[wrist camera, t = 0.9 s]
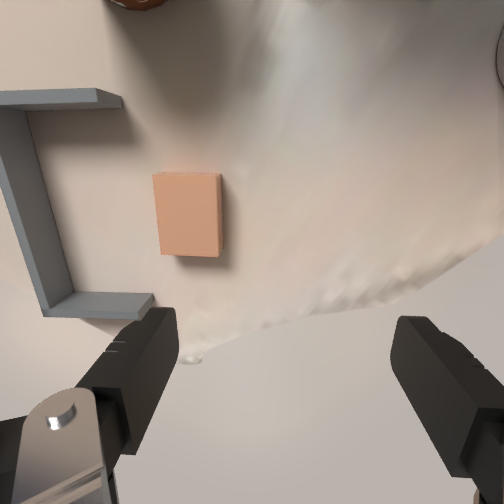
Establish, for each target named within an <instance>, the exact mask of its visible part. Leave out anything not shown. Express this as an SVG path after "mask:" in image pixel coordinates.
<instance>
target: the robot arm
mask: <svg viewBox="0 0 504 504" xmlns="http://www.w3.org/2000/svg"><path fill="white" fill-rule="evenodd" d="M497 70H498V73H499V77H500V80H501V82H502V84H503V85H504V28H503V31H502V34H501V37H500V40H499V44H498V50H497ZM178 353H179V339H178V330H177V321H176V313H175V310H174V308H171V307H151V308H150V309H149V310H148V312H147V313H146V314H145V316H144V317H143V318H142V320H141V321H134V322H132V323H131V324H129V325H128V326H126V327H125V328H123V329H122V330H121V331H120V332H119V334H118V335H117V336H116V337H115V339H114V340H113V343H110V345H109V346H108V347H107V348H106V351H105V352H103V353H102V354H101V356H100V357H99V358H98V359H97V361H96V362H95V363H94V364H93V365H92V367H91V368H90V369H89V370H88V372H87V373H86V374H85V375H84V377H83V378H82V379H81V380H80V381H79V383H78V384H77V385H76V386H75V387H74V388H70V389H66V390H63V391H60V392H58V393H55V394H53V395H51V396H50V397H48V398H46V399H45V400H43V401H42V402H41V403H39V404H38V405H37V406H36V407H35V408H34V409H33V410H32V411H31V412H30V414H29V415H27V416H23V417H18V418H14V419H9V420H4V421H0V504H119V498H118V492H117V485H116V479H115V473H114V467H115V465H116V463H117V461H118V459H119V456H120V455H121V454H126V455H136V452H137V450H138V448H139V446H140V443H141V441H142V439H143V437H144V434H145V432H146V430H147V427H148V425H149V423H150V420H151V418H152V416H153V414H154V411H155V409H156V407H157V405H158V402H159V400H160V398H161V396H162V393H163V391H164V389H165V386H166V384H167V382H168V379H169V377H170V375H171V373H172V370H173V368H174V366H175V364H176V361H177V358H178ZM390 354H391V355H390V360H391V366H392V369H393V372H394V374H395V376H396V377H397V379H398V381H399V383H400V385H401V386H402V388H403V390H404V392H405V393H406V395H407V397H408V399H409V401H410V403H411V404H412V406H413V408H414V410H415V412H416V414H417V415H418V417H419V419H420V421H421V422H422V424H423V426H424V428H425V430H426V432H427V433H428V435H429V437H430V439H431V441H432V442H433V444H434V446H435V448H436V450H437V451H438V453H439V455H440V457H441V459H442V461H443V462H444V464H445V466H446V468H447V470H448V471H449V473H450V475H451V477H460V478H472V479H473V481H474V483H475V485H476V486H477V490H476V492H475V494H474V504H504V386H503V385H502V384H501V383H500V382H499V381H498V380H497V379H496V378H495V377H494V376H493V375H492V374H491V373H490V372H489V371H488V370H487V369H485V368H484V366H483V364H481V362H480V361H479V360H478V359H477V358H474V355H473V354H472V353H471V352H470V351H469V350H468V349H467V348H466V347H465V346H464V345H463V344H462V343H460V342H459V341H457V340H456V339H454V338H453V337H451V336H449V335H448V334H446V333H444V332H441V331H439V329H438V328H437V327H436V326H435V325H434V324H433V323H432V322H431V321H430V320H429V319H428V318H427V317H424V316H400V317H399V319H398V321H397V325H396V330H395V334H394V339H393V344H392V348H391V353H390Z"/></svg>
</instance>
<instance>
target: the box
mask: <svg viewBox="0 0 504 504" xmlns="http://www.w3.org/2000/svg"><path fill="white" fill-rule="evenodd" d="M112 108H123V107H122V101H121V96H118V95H115V94H112V93H109V92H106V91H103V90H100V89H97V88H77V89H47V90H18V91H0V187H1V190H2V193H3V196H4V199H5V202H6V205H7V208H8V211H9V214H10V217H11V220H12V223H13V226H14V229H15V232H16V235H17V238H18V241H19V244H20V247H21V250H22V253H23V256H24V259H25V262H26V265H27V268H28V271H29V274H30V277H31V280H32V283H33V286H34V289H35V292H36V295H37V298H38V301H39V304H40V307H41V311H42V314H43V316H44V317H65V318H96V319H129V320H139V319H140V318H141V317H142V315H143V314H144V313H145V311H146V310H147V309H148V308H149V306H150V305H151V304H152V302H153V301H154V299H153V293H110V292H74V290H73V286H72V282H71V279H70V275H69V272H68V268H67V264H66V261H65V257H64V253H63V250H62V246H61V242H60V239H59V235H58V232H57V228H56V224H55V221H54V217H53V213H52V210H51V206H50V202H49V199H48V195H47V192H46V188H45V184H44V181H43V177H42V173H41V170H40V166H39V162H38V159H37V155H36V152H35V148H34V144H33V141H32V137H31V133H30V130H29V126H28V122H27V119H26V115H25V112H24V111H40V110H76V109H112Z"/></svg>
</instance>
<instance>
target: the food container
mask: <svg viewBox="0 0 504 504" xmlns="http://www.w3.org/2000/svg"><path fill="white" fill-rule="evenodd" d="M109 1H111V2H113V3H115V4H117V5H119V6H121V7H123V8H126V9H128V10H140V11H146V10H149V9H152V8H155V7H158V6H161V5H162V4H164V3H165V2H166V1H167V0H109Z"/></svg>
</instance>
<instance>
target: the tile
mask: <svg viewBox="0 0 504 504" xmlns="http://www.w3.org/2000/svg"><path fill="white" fill-rule="evenodd" d="M152 177H153V186H154V195H155V204H156V213H157V222H158V232H159V241H160V250H161V255H181V256H205V257H219V255H220V253H221V251H222V249H223V230H222V188H221V174H219V173H174V172H162V173H157V174H153V175H152Z"/></svg>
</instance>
